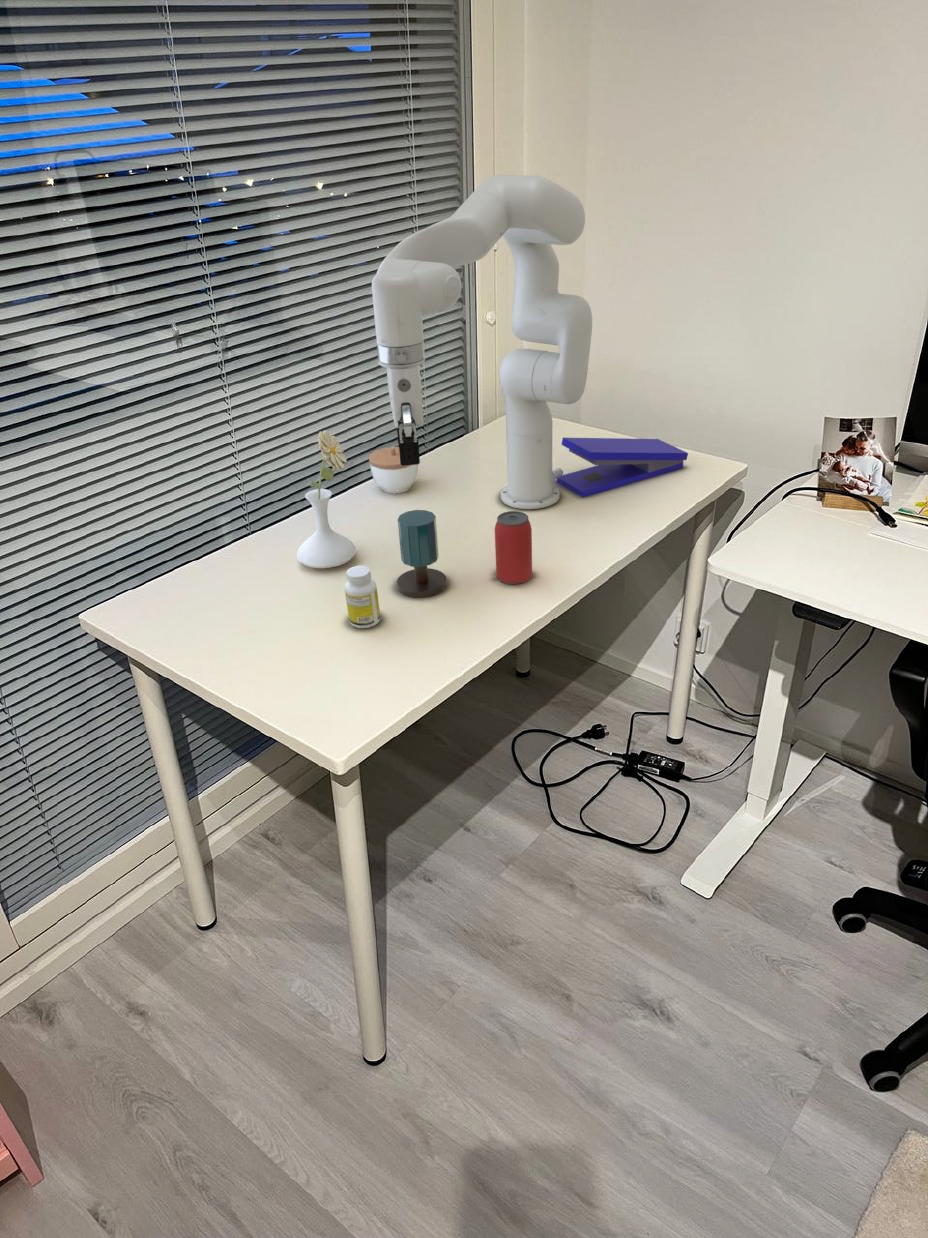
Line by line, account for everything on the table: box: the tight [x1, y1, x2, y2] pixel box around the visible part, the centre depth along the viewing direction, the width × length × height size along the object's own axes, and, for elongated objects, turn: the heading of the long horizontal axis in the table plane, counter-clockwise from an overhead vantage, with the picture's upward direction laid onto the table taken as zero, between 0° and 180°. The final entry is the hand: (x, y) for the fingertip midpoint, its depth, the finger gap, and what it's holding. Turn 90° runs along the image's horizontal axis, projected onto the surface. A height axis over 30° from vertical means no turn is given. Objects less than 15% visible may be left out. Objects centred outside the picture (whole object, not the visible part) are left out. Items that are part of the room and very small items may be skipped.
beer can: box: [494, 510, 533, 585], centre depth 172 cm, size 7×7×12 cm
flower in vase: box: [296, 429, 357, 569], centre depth 179 cm, size 13×11×25 cm
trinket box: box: [368, 446, 419, 495], centre depth 210 cm, size 11×11×9 cm
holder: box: [396, 566, 448, 599], centre depth 171 cm, size 9×9×13 cm
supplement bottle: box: [344, 565, 381, 629], centre depth 162 cm, size 5×5×10 cm
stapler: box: [556, 437, 689, 498], centre depth 210 cm, size 12×28×10 cm, turn 119°
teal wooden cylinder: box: [397, 509, 439, 568], centre depth 169 cm, size 6×6×8 cm
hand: (408, 453), depth 162 cm, fingers open, 9 cm apart
